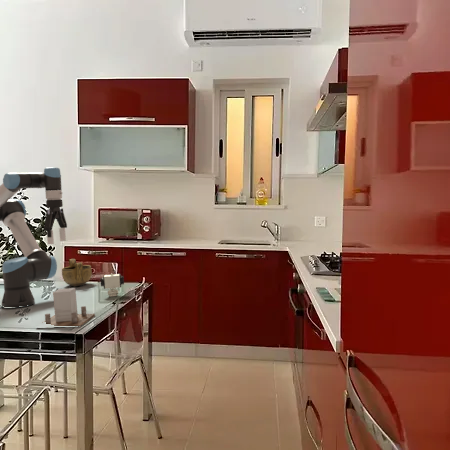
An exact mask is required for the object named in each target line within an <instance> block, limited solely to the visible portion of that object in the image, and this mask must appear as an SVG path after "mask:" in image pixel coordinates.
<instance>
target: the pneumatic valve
mask: <svg viewBox="0 0 450 450" xmlns="http://www.w3.org/2000/svg"><path fill="white" fill-rule="evenodd" d="M99 280H100V282H99V283H100V287H103V289H104V290H105V289H108V291H107V296H108V297H110V298H111V297H112V298H113V297H117V296H118V295H119V290H118V289H117V288H122V285H125V280H124V275H121V273H117V274H113V273H112V272H111V273H110V274H106V275H102V277H100V279H99Z"/></svg>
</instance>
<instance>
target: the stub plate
mask: <svg viewBox="0 0 450 450" xmlns="http://www.w3.org/2000/svg"><path fill="white" fill-rule="evenodd" d="M80 311H81V313H78V317H77V314H76V313H71V316H72V321H65V322H56V320H55V314H54V315H52V316H51V314H50V313H45V314H44V321H43V322H46V324H51V325H54V326H81V325H83V324H84V323H85V324H86V323H87V321H88V322H89V321H90V320H92V319H93V318H94V317H95V316H96V313H87V306H86V305H85V306H84V305H83V306H81V307H80ZM85 324H84V325H85ZM84 325H83V326H84ZM81 327H82V326H81Z"/></svg>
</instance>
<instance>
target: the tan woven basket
mask: <svg viewBox="0 0 450 450" xmlns="http://www.w3.org/2000/svg"><path fill="white" fill-rule="evenodd" d="M68 264H69V266H66V267H62V268H61V276H62V279H63V281H64V282H65V284H66V285H69V286H71V287H80V285H81V286H83V285H85V284H87V283H88V282H89V281H90V279H91V278H92V274H93V273H92V265H87V264H83V262H82V261H81V262H77V261H76V259H75V258H71V259H68Z"/></svg>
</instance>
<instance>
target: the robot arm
mask: <svg viewBox="0 0 450 450" xmlns="http://www.w3.org/2000/svg"><path fill="white" fill-rule="evenodd" d="M61 174H62V173H61V169H60V168H59V167H45V168H44V169H43V172H7V173H4V175H3V178H2V184H1V185H0V222H2V223H3V225H4V226H5V227H8V228H9V230H10V233H11V234H12V236H13V237H14V239H15V241H16V243H17V245H18V247H19V249H20V250H21V252H22V254H23V256H21V257H19V256H18V257H14V258H10V259H7V260H5V261H4V262H3V263H2V279H3V289H4V291H3V292H4V293H3V296H2V299H1V307H2V306H4V307H19V306H26V307H28V306H27V305H30V306H32V304H33V305H35V303H36V302H35V297H34V294H33V292H32V290H31V286H30V283H32V282H37V281H42V280H48V279H52V278H53V277H54V276H55V275H56V273H57V269H58V263H57V260H56V258H55V256H54V255H48V254H47V252H46V251H45V250H43V249H41V248H40V246H39V244H38V242H37V239H36V238H35V237H34V235H33V234H32V231H31V230H30V228H29V226H28V225H27V222H26V216H27V215H26V214H27V210H26V206H25V204H24V202H23V201H22V200H20V199H18V198H12V197H13V196H15V195H16V194H17V193H18V192H19V191H20V190H21V189H45V199H46V200H45V202H46V203H45V204H46V205H45V207H46V208H48V209H46V210H45V213H46V214H45V222H44V226H43V229H44V231H46V238H47V245H54V244H55V241H54V230H53V227H54V223H55V220H56V221H57V223H58V226H59V228H58V229H59V231H58V232H59V241H60V242H63V241H64V242H65V241H67V240H66V239H67V238H66V229H67V228H68V224H67V219H66V217H65V213H64V208H62V207H63V205H64V204H63V199H62V198H63V191H62V175H61Z"/></svg>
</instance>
